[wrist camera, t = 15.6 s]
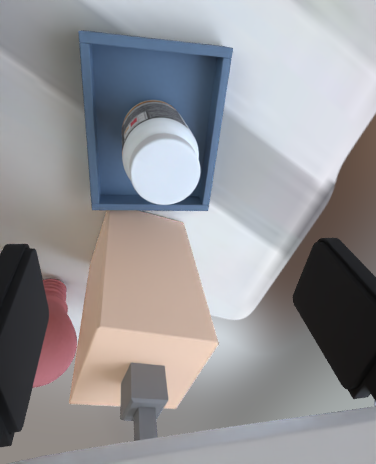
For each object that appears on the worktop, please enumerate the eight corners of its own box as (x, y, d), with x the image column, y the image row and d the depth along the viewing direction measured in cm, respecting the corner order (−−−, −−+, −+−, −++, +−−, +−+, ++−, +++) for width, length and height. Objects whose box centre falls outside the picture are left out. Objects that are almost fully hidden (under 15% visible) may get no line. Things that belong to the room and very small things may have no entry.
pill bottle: (108, 134, 28) (101, 179, 20) (150, 83, 26) (161, 109, 18) (157, 173, 31) (168, 226, 23) (197, 128, 29) (225, 169, 21)
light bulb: (97, 290, 38) (88, 382, 29) (50, 315, 39) (26, 412, 30) (58, 252, 35) (31, 343, 25) (7, 281, 36) (-39, 380, 26)
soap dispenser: (108, 202, 32) (86, 428, 14) (184, 222, 35) (246, 432, 17) (81, 290, 38) (41, 530, 20) (148, 301, 41) (166, 520, 23)
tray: (82, 30, 24) (78, 30, 22) (224, 46, 26) (233, 48, 24) (94, 198, 32) (91, 210, 30) (203, 199, 34) (208, 211, 32)
